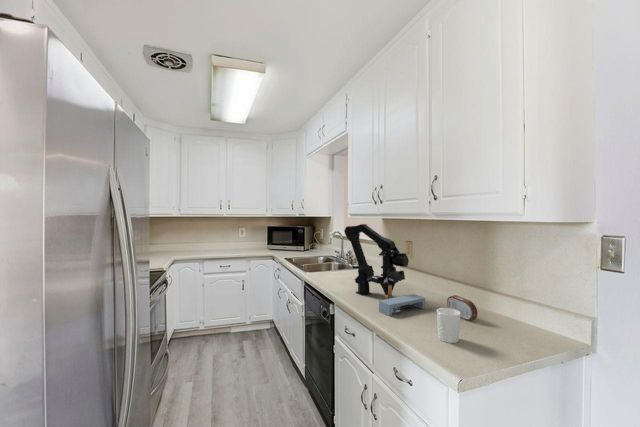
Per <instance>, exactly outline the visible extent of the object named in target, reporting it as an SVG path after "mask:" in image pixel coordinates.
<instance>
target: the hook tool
mask: <svg viewBox="0 0 640 427" xmlns="http://www.w3.org/2000/svg"><path fill="white" fill-rule="evenodd" d="M396 297H397V296H395V295H394V294H393V291H392V285H389V284H388V292H387V295H385V294H384V299H391V298H396ZM410 307H411V304H408V305H403V306H399V307H397V308H400V310H402V309H407V308H410Z"/></svg>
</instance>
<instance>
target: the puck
mask: <svg viewBox="0 0 640 427" xmlns="http://www.w3.org/2000/svg"><path fill="white" fill-rule="evenodd" d="M400 313H401V309H400V308H397V307H394V308H392V314H400Z"/></svg>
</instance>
